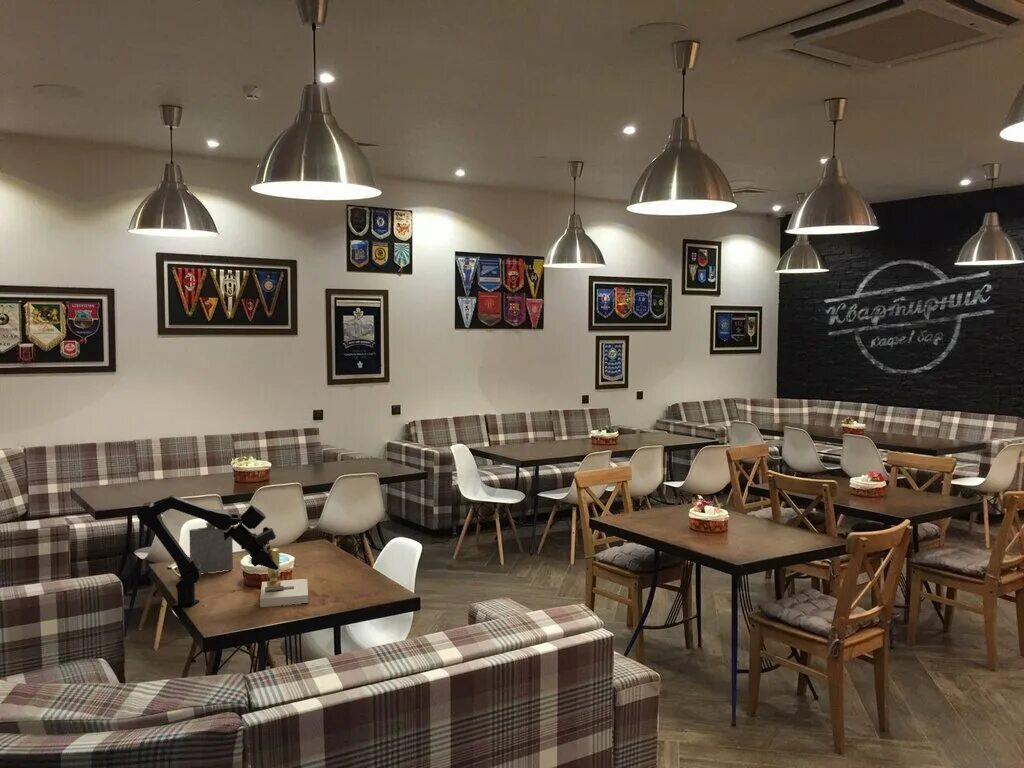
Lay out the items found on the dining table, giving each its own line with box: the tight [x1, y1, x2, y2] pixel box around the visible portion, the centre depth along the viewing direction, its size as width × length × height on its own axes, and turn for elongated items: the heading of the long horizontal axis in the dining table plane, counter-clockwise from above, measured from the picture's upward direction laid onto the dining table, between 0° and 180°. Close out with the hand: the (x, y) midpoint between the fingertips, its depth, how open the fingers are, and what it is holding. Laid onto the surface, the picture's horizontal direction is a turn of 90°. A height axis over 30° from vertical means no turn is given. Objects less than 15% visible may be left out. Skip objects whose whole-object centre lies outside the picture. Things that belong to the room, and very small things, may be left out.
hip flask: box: [188, 522, 234, 573], centre depth 328 cm, size 16×4×20 cm, turn 114°
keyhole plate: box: [259, 578, 309, 608], centre depth 298 cm, size 16×20×3 cm
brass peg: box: [266, 547, 282, 588], centre depth 296 cm, size 5×5×13 cm
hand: (277, 567), depth 297 cm, fingers closed on brass peg, 4 cm apart
